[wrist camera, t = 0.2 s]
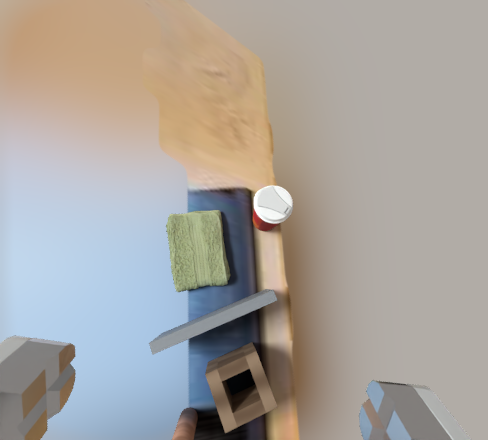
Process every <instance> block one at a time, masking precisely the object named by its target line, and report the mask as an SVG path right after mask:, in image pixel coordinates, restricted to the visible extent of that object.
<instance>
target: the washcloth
mask: <svg viewBox="0 0 488 440" xmlns="http://www.w3.org/2000/svg"><path fill="white" fill-rule="evenodd" d="M221 219H222V217H221V212H220V211H219V210H214V211H194V212H190V213H187V214H170V215H169V218H168V223H167V225H166V227H167V232H168V241H169V246H170V247H169V248H170V259H171V264H172V265H171V269H172V274H173V280H174V284H175V289H176V291H177V292H181V291H186V290H191V289H196V288H197V289H198V288H199V287H203V286H208V285H210V286H219V285H220V286H223V285H226V284H228V280H229V278H230V273H229V272H230V271H229V269H230V268H229V265H228V261H227V258H226V252H225V245H224V237H223V228H222V227H223V225H222V220H221Z"/></svg>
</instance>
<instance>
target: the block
mask: <svg viewBox="0 0 488 440" xmlns="http://www.w3.org/2000/svg"><path fill="white" fill-rule="evenodd" d="M247 369H250V371H251V373H252V376H253V379H254V381H255V385H253V386H251V387H249V388H246V389H244V390H242V391H240V392H238V393H236V394H234V395H231V392H230V390H229V387H228V384H227V381H226V379H228V378H230V377H233V376H235V375H237V374H239V373H241V372H243V371H245V370H247ZM205 375H206V378H207V381H208V384H209V386H210V389H211V392H212V395H213V398H214V401H215V404H216V407H217V410H218V413H219V416H220V419H221V422H222V425H223V428H224V431H225V433H227V432H229V431H231V430H233V429H235V428H237V427H239V426H241V425H243V424H245V423H247V422H249V421H251V420H253V419H255V418H257V417H259V416H261V415H263V414H265V413H267V412H269V411H271V410H273V409H275V408H277V407H278V406H277V404H276V401H275V399H274V396H273V393H272V391H271V388H270V385H269V383H268V380H267V378H266V375H265V372H264V370H263V367H262V364H261V362H260V359H259V357H258V354H257V351H256V349H255V347H254V345H253V343H252V342H251V343H249V344H247V345H245V346H243V347H240V348H238V349H236V350H234V351H231V352H229V353H227V354H225V355H223V356H220V357H218V358H216V359H214V360H212V361H209V362H208V365H207V369H206V374H205Z"/></svg>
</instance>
